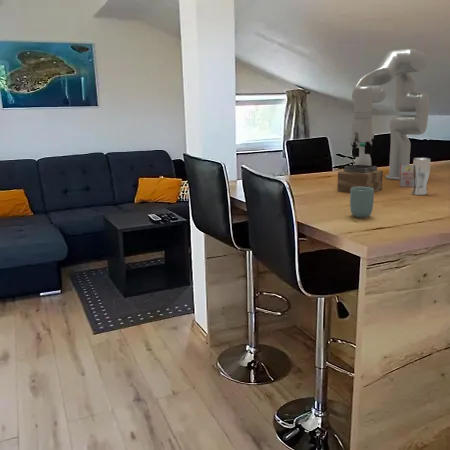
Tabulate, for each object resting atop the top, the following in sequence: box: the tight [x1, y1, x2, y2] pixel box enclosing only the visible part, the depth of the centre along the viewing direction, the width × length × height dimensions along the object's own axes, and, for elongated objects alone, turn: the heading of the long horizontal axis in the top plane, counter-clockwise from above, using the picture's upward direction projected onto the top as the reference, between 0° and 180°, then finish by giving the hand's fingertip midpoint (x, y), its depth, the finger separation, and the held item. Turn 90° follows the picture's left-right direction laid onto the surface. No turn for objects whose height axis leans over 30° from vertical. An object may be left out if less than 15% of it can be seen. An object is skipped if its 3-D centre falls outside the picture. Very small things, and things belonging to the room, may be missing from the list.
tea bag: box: [398, 164, 413, 188], centre depth 222 cm, size 4×7×10 cm, turn 70°
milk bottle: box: [354, 142, 372, 166], centre depth 228 cm, size 8×8×20 cm
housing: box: [337, 164, 384, 193], centre depth 215 cm, size 14×14×11 cm
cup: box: [349, 187, 375, 219], centre depth 167 cm, size 8×8×10 cm
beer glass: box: [411, 157, 431, 196], centre depth 203 cm, size 7×7×15 cm
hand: (361, 155), depth 213 cm, fingers open, 9 cm apart
